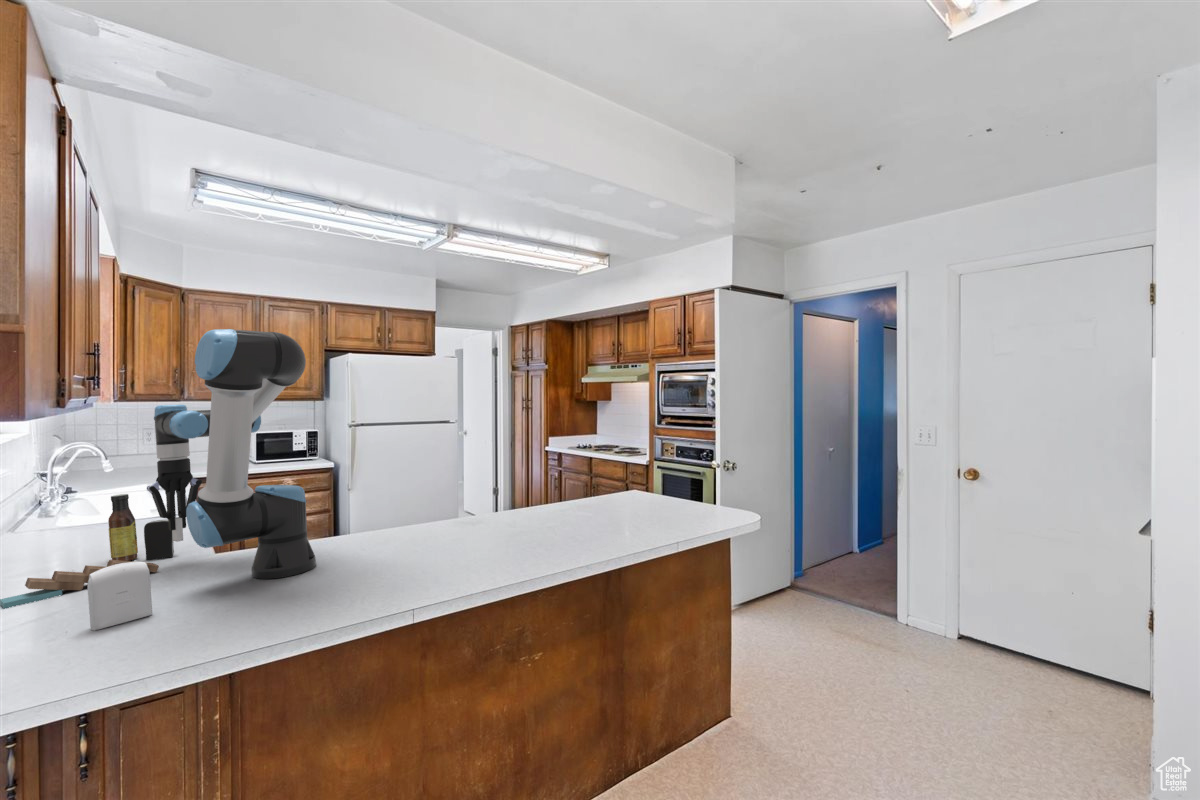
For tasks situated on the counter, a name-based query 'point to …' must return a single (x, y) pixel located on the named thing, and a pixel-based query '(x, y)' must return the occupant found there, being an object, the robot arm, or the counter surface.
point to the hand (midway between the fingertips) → (178, 540)
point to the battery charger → (158, 540)
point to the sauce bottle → (122, 530)
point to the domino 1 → (29, 597)
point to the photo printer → (119, 594)
